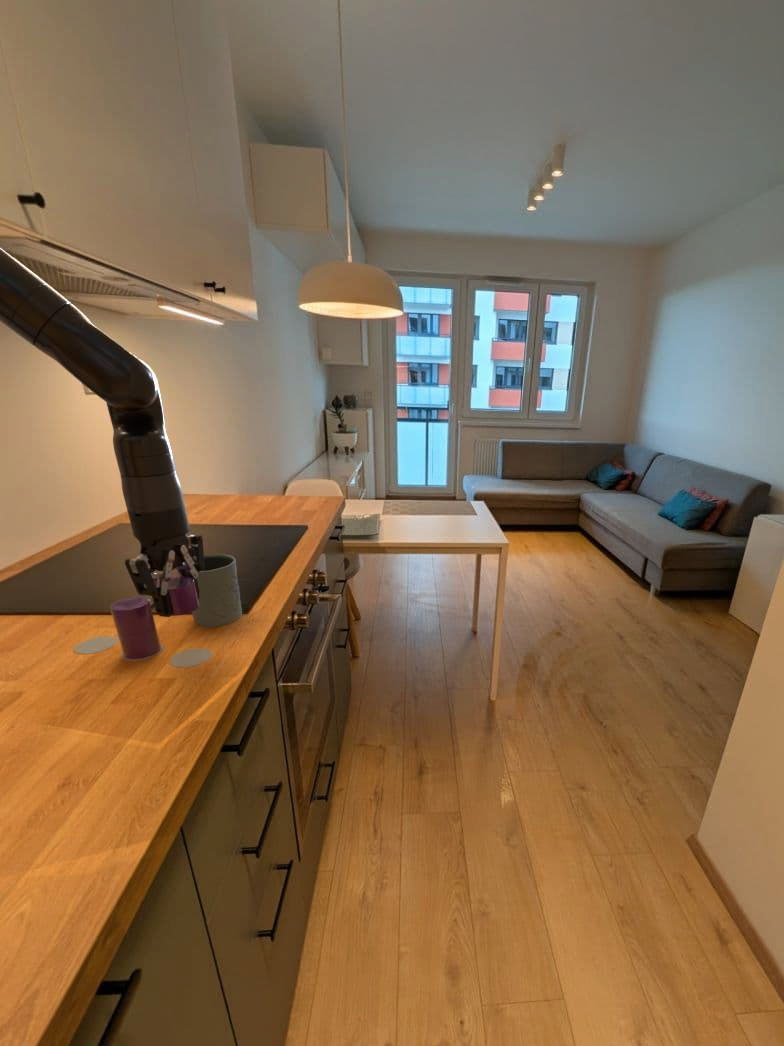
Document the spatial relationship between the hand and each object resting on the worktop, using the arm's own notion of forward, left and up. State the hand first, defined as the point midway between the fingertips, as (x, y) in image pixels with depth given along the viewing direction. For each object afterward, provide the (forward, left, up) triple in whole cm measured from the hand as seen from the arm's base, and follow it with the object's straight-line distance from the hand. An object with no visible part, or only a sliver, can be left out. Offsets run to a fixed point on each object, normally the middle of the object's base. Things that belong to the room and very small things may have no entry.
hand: (179, 607), depth 82 cm
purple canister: (0, 0, 0) cm, 0 cm away
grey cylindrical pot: (-6, +15, -10) cm, 19 cm away
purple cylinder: (-10, 0, -5) cm, 11 cm away
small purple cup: (-10, 0, -9) cm, 13 cm away
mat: (-10, 0, -10) cm, 14 cm away
